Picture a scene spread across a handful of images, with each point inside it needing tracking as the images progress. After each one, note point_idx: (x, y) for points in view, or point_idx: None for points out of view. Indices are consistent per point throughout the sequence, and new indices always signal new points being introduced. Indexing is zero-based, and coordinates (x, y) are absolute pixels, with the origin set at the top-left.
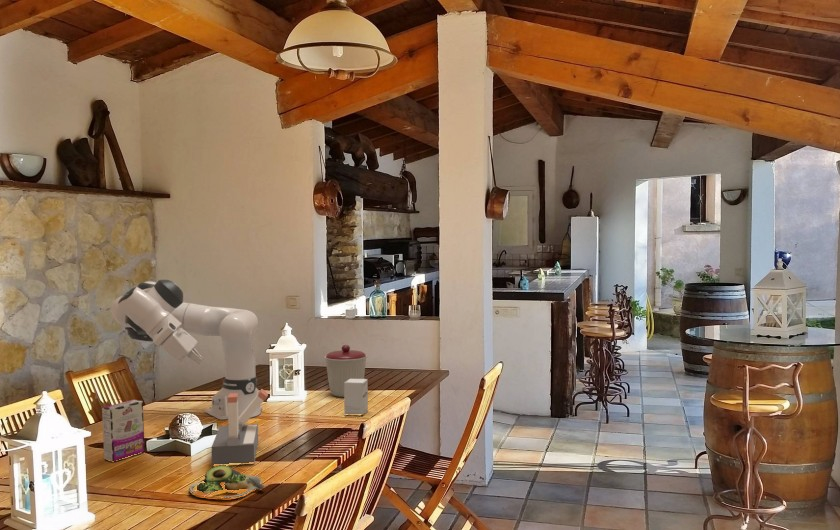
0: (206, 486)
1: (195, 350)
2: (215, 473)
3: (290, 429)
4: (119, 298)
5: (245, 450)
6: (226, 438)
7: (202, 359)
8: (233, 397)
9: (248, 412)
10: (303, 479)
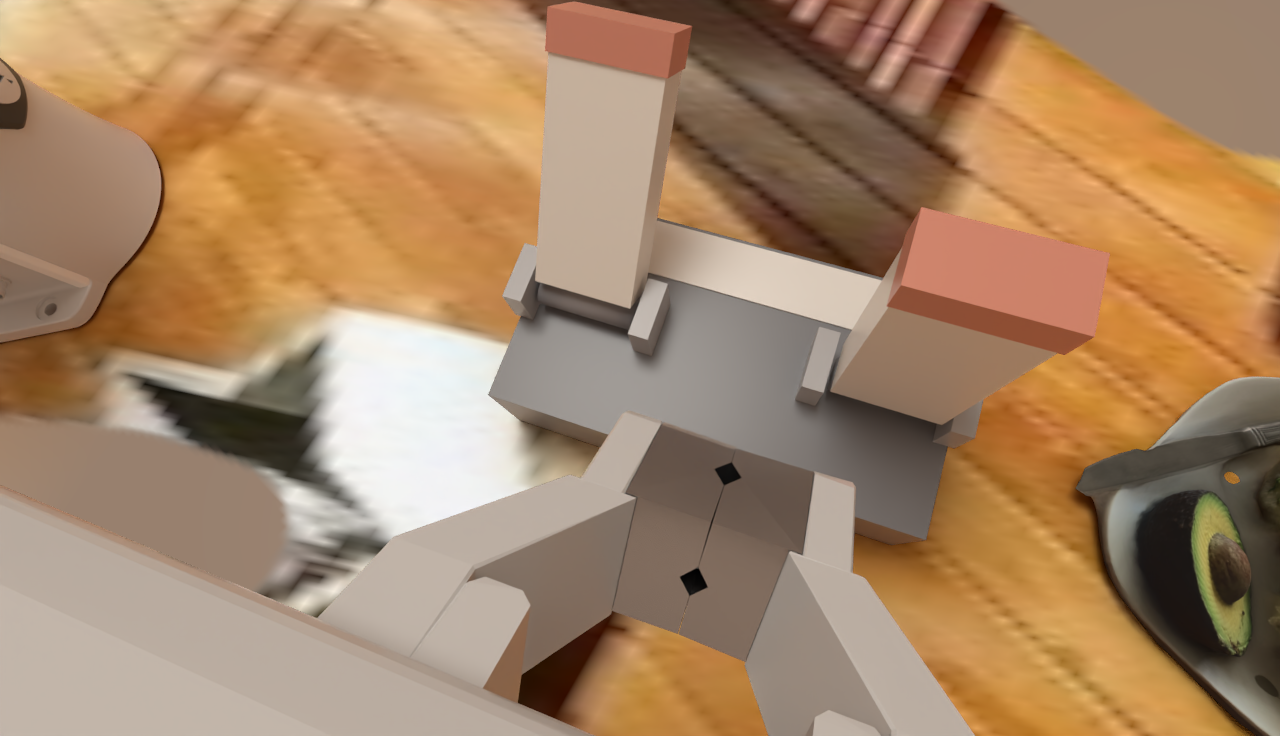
0: None
1: (512, 608)
2: (1243, 594)
3: (469, 73)
4: None
5: None
6: (780, 417)
7: (798, 468)
8: (1101, 283)
9: (650, 209)
10: (1256, 201)
